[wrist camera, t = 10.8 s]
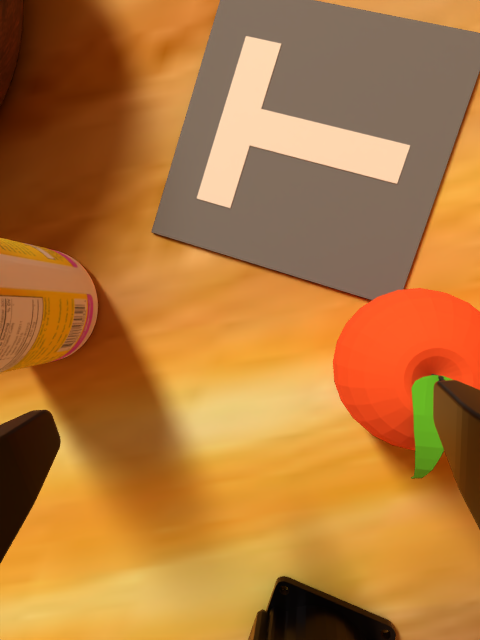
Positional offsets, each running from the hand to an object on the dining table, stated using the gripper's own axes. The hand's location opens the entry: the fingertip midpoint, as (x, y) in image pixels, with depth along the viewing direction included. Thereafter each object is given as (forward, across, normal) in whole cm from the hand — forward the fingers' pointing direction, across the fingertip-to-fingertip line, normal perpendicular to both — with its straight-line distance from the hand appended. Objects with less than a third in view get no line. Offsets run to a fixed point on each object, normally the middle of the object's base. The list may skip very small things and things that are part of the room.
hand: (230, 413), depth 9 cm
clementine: (+12, -6, +6) cm, 15 cm away
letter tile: (+16, -3, -6) cm, 17 cm away
